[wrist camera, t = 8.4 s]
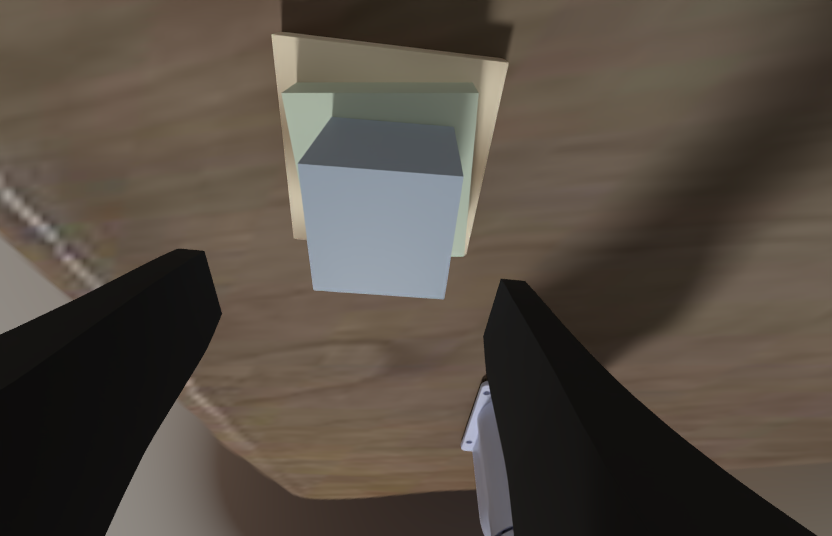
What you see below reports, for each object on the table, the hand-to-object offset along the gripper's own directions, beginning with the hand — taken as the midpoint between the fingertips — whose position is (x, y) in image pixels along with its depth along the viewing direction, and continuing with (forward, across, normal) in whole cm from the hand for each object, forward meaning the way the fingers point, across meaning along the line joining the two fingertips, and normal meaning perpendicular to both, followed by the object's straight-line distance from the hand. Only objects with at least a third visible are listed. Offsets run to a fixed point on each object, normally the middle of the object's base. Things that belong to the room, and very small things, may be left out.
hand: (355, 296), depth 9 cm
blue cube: (+7, 0, 0) cm, 7 cm away
